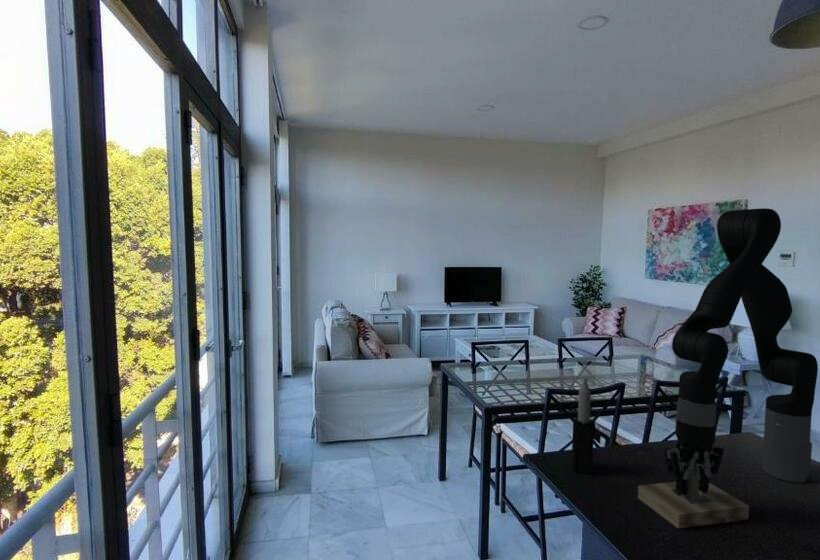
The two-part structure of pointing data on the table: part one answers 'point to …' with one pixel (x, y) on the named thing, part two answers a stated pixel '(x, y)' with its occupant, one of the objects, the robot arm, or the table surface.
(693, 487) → the rook chess piece
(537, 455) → the table surface
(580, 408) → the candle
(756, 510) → the table surface
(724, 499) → the socket board
